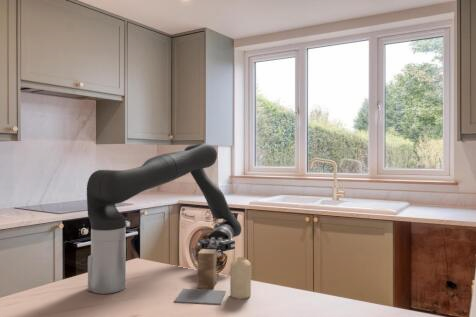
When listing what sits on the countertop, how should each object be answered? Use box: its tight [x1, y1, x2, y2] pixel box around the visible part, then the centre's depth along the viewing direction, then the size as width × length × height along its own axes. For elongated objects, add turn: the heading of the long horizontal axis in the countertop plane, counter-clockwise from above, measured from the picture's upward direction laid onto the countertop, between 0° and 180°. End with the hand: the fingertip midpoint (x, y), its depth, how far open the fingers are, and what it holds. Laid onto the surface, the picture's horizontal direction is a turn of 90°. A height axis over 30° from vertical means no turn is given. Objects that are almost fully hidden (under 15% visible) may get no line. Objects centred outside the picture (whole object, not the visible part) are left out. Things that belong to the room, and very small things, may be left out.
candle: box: [229, 256, 252, 300], centre depth 104 cm, size 6×6×10 cm
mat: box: [173, 288, 227, 306], centre depth 102 cm, size 12×9×1 cm
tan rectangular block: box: [197, 249, 218, 290], centre depth 111 cm, size 4×5×10 cm
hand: (211, 250), depth 117 cm, fingers closed
